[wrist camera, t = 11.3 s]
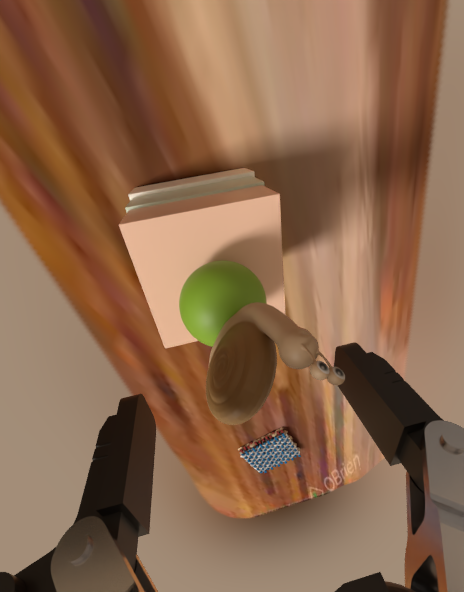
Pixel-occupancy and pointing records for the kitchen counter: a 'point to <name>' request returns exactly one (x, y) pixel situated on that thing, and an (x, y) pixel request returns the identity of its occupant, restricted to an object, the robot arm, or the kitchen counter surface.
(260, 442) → the woven mat
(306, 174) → the kitchen counter surface
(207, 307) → the snail figurine
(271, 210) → the stacked pastel boxes
